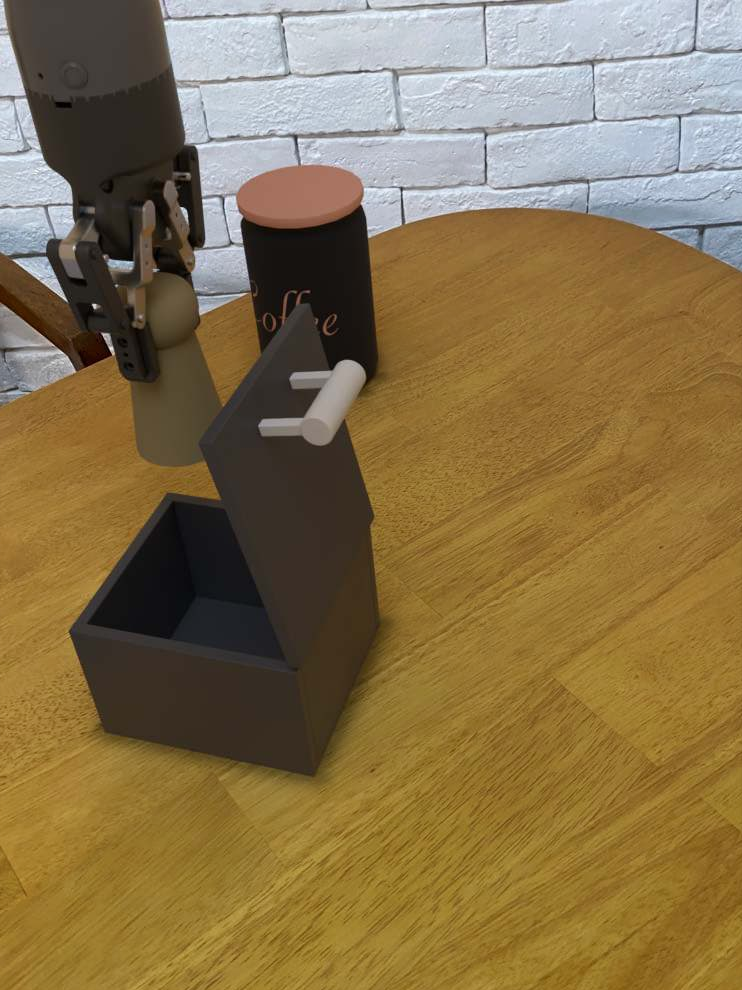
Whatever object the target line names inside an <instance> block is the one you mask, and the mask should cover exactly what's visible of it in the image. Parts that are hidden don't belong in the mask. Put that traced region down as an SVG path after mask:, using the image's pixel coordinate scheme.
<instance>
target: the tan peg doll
mask: <svg viewBox="0 0 742 990" xmlns="http://www.w3.org/2000/svg"><path fill="white" fill-rule="evenodd" d="M116 288H117V290H118V293H119V295H120V298H121V300H122V303H123V305H126V306H128V297H127V289H126V287H125V286H123V285H116ZM194 290H195V289H194ZM194 290H193V288H192V287H191V285H190V284H189V283H188V282H187V281H186V280H185V279H184V278H182V277H180V276H178V275H175V274H171V273H166V272H157V271H153V280H152V282H151V283H150V284H149V285H147V286H146V289H145V292H146V322H149V325H150V329H151V333H152V337H153V341H154V346H155V350H156V354H157V358H158V362H159V367H160V371H161V373H160V375H159V376H158V378H157V379H156V380H155V381H154V382H153V383H144V382H135V381H129V387H130V396H131V407H132V415H133V416H132V417H133V425H134V426H133V427H134V434H135V435H134V436H135V444H136V445H135V446H136V450H137V452H138V454H139V456H140V457H141V458H142V459H144V460H145V461H146V462H147V463H150V464H151V465H152V464H153V465H156V466H158V467H165V468H166V467H167V468H179V467H188V466H194V465H196V464H199V463H203V462H206V461H205V459H204V456H203V454H202V452H201V449H200V447H199V444H198V442H199V440H200V439H201V438H202V436H203V435H204V433H205V432H206V431H207V429H208V428H209V426H210V425H211V424H212V422H213V421H214V420H215V418H216V417H217V415H218V414H219V413H220V411H221V410H222V408H223V407H224V406H223V404H222V402H221V398H220V396H219V393H218V390H217V388H216V385H215V382H214V379H213V377H212V374H211V371H210V368H209V366H208V363H207V361H206V357H205V355H204V352H203V349H202V346H201V344H200V341H199V338H198V336H197V333H196V330H195V328H196V326H197V324H198V317H199V315H200V305H199V304H200V303H199V298H198V296H197V294H196V291H195V292H194ZM196 329H197V328H196Z"/></svg>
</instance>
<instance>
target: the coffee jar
mask: <svg viewBox="0 0 742 990" xmlns="http://www.w3.org/2000/svg"><path fill="white" fill-rule="evenodd" d="M364 190H365V189H364V185H363V183H362V179H361V178H360V177H359V176H357V175H356V174H355V173H354V172H352V171H349V170H346V169H344V168H341V167H338V166H331V165H326V164H325V165H324V164H299V165H292V166H291V165H290V166H284V167H283V166H282V167H280V168H276V169H271V170H267V171H265V172H263V173H260V174H258V175H256V176H253V177H251V178H250V179H249V180H247V181H246V182H244V183H243V184H242V185H240V187H239V189H238V190H237V192H236V194H235V201H236V205H237V210H238V213H239V214H240V215H241V216H242V218H241V220H240V223H239V225H240V232H241V239H242V246H243V251H244V257H245V263H246V269H247V270H246V271H247V276H248V282H249V288H250V295H251V300H252V306H253V312H254V313H253V314H254V318H255V325H256V331H257V337H258V343H259V350H260V355H261V354H262V353H263V351H264V350H265V349H266V347H267V346H268V344H269V343H270V342H271V340H272V339H273V337H274V336H275V335H276V333H277V332H278V331H279V329H280V328H281V326H282V325H283V324H284V322H285V321H286V319H287V318H288V317H289V315H290V314H291V312H292V311H293V310H294V308H295V307H296V305H297V304H306V303H309V304H310V307H311V310H312V313H313V317H314V320H315V323H316V326H317V330H318V333H319V336H320V339H321V343H322V346H323V349H324V353H325V356H326V359H327V362H328V366H329V369H330V371H333V369H334V368H335V366H336V365H337V364H338V363H339V362H340V361H343V360H352V361H355V362H357V363H358V364H359V365H361V366H362V368H363V369H364V371H365V374H366V381H365V383H364V385H363V387H364V386H365V385H366V384H367V383H368V381H369V380H371V378H372V377H373V375H375V373H376V369H377V366H378V362H379V354H378V353H379V350H378V339H377V328H376V327H377V326H376V317H375V316H376V315H375V305H374V292H373V282H372V280H373V279H372V269H371V257H370V243H369V232H368V221H367V220H368V219H367V215H366V212H365V210H364V209H365V208H364V207H363V205H362V201H363V199H364V196H365V191H364Z"/></svg>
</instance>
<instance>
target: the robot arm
mask: <svg viewBox="0 0 742 990" xmlns="http://www.w3.org/2000/svg"><path fill="white" fill-rule="evenodd" d="M2 1H3V10H4V15H5V22H6V23H5V24H6V28H7V33H8V36H9V40H10V44H11V46H12V50H13V54H14V58H15V61H16V65H17V68H18V71H19V75H20V79H21V83H22V86H23V90H24V94H25V98H26V102H27V104H28V108H29V112H30V115H31V119H32V122H33V123H32V124H33V126H34V130H35V134H36V137H37V140H38V144H39V146H40V147H39V148H40V151H41V154H42V158H43V161H44V162H45V164H46V165H47V166H48V167H49V168H50V169H51V170H52V171H53V172H55V173H56V174H58V175H59V176H61V178H62V179H64V180H65V181H66V182H67V184H68V185H69V186H70V189H71V197H72V198H71V199H72V218H73V222H74V225H73V227H72V228H71V229H70V231H69V233H68V234H67V236H66V237H65V238H53V237H51V238H49V240H48V241H47V242H46V246H45V254H46V258H47V261H48V262H49V265H50V266H51V269H52V271H53V274H54V275H55V278H56V279H57V282H58V284H59V286H60V288H61V291H62V293H63V295H64V298H65V299H66V302H67V303H68V306H69V308H70V310H71V312H72V314H73V316H74V319H75V321H76V323H77V325H78V327H79V330H80V331H81V332H83V333H98V334H108V335H109V337H110V341H111V345H112V349H113V353H114V356H115V359H116V362H117V367H118V371H119V373H120V375H121V376H122V377H123V378H124V379H125V380H127V381H129V382H130V381H135V382H144V383H153V382H154V381H155V380H156V379H157V378H158V376H159V375H160V373H161V371H160V367H159V362H158V358H157V354H156V350H155V346H154V341H153V337H152V333H151V329H150V325H149V322H146V292H145V289H146V286H147V285H149V284H150V283H151V282H152V280H153V272H154V270H156V272H166V273H171V274H175V275H178V276H180V277H182V278H184V279H185V280H186V281H187V282H188V283H189V284H190V285H191V287H192V288H193V290H194V292H195V293H196V291H195V285H194V281H193V276H192V272H194V269H195V267H196V255H195V253H194V252H195V249H203V248H204V246H205V244H206V229H205V228H206V225H205V216H204V214H205V213H204V205H203V203H204V202H203V193H202V182H201V169H200V161H199V160H200V158H199V150H198V148H197V146H196V145H194V144H185V143H186V139H187V138H186V130H185V129H186V128H185V125H184V119H183V115H182V113H183V112H182V109H181V103H180V99H179V94H178V88H177V87H178V86H177V82H176V77H175V74H174V67H173V60H172V56H171V51H170V47H169V41H168V36H167V31H166V26H165V21H164V15H163V11H162V7H161V6H162V5H161V2H160V0H2ZM181 208H183V209H185V211H186V213H187V220H186V217H185V215H184V213H183V210H182V209H181ZM110 261H119V262H130V263H132V262H133V266H132V268H131V269H130V268H117V267H111V266H110V265H109V264H108V263H109V262H110ZM118 285H123V286H125V287H126V289H127V297H128V306H126V305H123V303H122V300H121V298H120V295H119V293H118V290H117V288H116V287H117V286H118ZM93 305H95V308H94V306H93ZM201 322H202V321H201V315H200V314H199V317H198V324H197V326H196V328H195V331H196V330H197V328H199V326H200V325H201Z"/></svg>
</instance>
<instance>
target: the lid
mask: <svg viewBox="0 0 742 990" xmlns="http://www.w3.org/2000/svg"><path fill="white" fill-rule="evenodd" d="M365 381H366V374H365V371H364V369H363V368H362V366H361V365H359V364H358V363H357V362H355V361H352V360H343V361H340V362H339V363H338V364H337V365H336V366H335V368H334V369H333V371H330V369H329V366H328V362H327V359H326V356H325V353H324V349H323V346H322V343H321V339H320V336H319V333H318V330H317V326H316V323H315V320H314V317H313V313H312V310H311V307H310V304H309V303H306V304H297V305H296V307H295V308H294V310H293V311H292V312H291V314H290V315H289V317H288V318H287V319H286V321H285V322H284V324H283V325H282V326H281V328H280V329H279V331H278V332H277V333H276V335H275V336H274V337H273V339H272V340H271V342H270V343H269V344H268V346H267V347H266V349H265V350H264V351H263V353H262V354H261V353H260V356H259V357H258V358H257V360H256V361H255V362H254V364H253V365H252V367H251V368H250V369H249V370H248V372H247V374H246V375H245V376H244V378H243V379H242V380H241V382H240V384H239V385H238V386H237V387H236V389H235V390H234V392H233V393H232V394H231V396H230V397H229V399H228V400H227V401H226V403H225V404H224V406H222V407H223V408H222V410H221V411H220V413H219V414H218V415H217V417H216V418H215V420H214V421H213V422H212V424H211V425H210V426H209V428H208V429H207V431H206V432H205V433H204V435H203V436H202V438H201V439H200V440H199V442H198V444H199V447H200V449H201V452H202V454H203V456H204V459H205V461H204V462H205V464H206V466H207V469H208V471H209V473H210V476H211V478H212V481H213V483H214V487H215V488H216V491H217V493H218V496H219V498H220V500H221V501H222V503H223V506H224V508H225V511H226V513H227V516H228V518H229V520H230V523H231V525H232V528H233V530H234V533H235V535H236V538H237V540H238V543H239V545H240V548H241V550H242V552H243V555H244V557H245V560H246V562H247V565H248V567H249V570H250V572H251V575H252V577H253V580H254V582H255V585H256V587H257V589H258V592H259V594H260V597H261V599H262V602H263V604H264V607H265V609H266V612H267V614H268V617H269V619H270V621H271V624H272V626H273V629H274V631H275V634H276V636H277V639H278V641H279V644H280V646H281V649H282V651H283V653H284V656H285V658H286V661H287V663H288V666H289V667H290V668H301V667H302V665H303V663H304V661H305V659H306V657H307V655H308V653H309V651H310V649H311V647H312V645H313V643H314V641H315V639H316V637H317V635H318V633H319V631H320V628H321V626H322V624H323V622H324V620H325V618H326V616H327V614H328V612H329V610H330V608H331V606H332V604H333V602H334V600H335V598H336V596H337V594H338V591H339V589H340V587H341V585H342V583H343V581H344V579H345V577H346V575H347V573H348V571H349V569H350V567H351V565H352V563H353V561H354V559H355V557H356V554H357V552H358V550H359V548H360V546H361V544H362V542H363V540H364V538H365V536H366V534H367V532H368V530H369V528H370V529H371V527H372V526H371V525H372V524H373V522H374V519H375V517H376V516H375V513H374V509H373V506H372V503H371V500H370V497H369V494H368V491H367V490H368V489H367V487H366V483H365V480H364V477H363V474H362V471H361V467H360V464H359V460H358V458H357V454H356V451H355V447H354V445H353V441H352V438H351V435H350V431H349V428H348V425H347V422H346V421H347V420H346V419H345V418H346V416H347V414H348V413H349V411H350V409H351V407H352V406H353V404H354V402H355V401H356V399H357V397H358V395H359V394H360V392H361V390H362V388H363V387H364V386H365V385H364V383H365ZM365 384H366V383H365ZM363 385H364V386H363Z"/></svg>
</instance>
